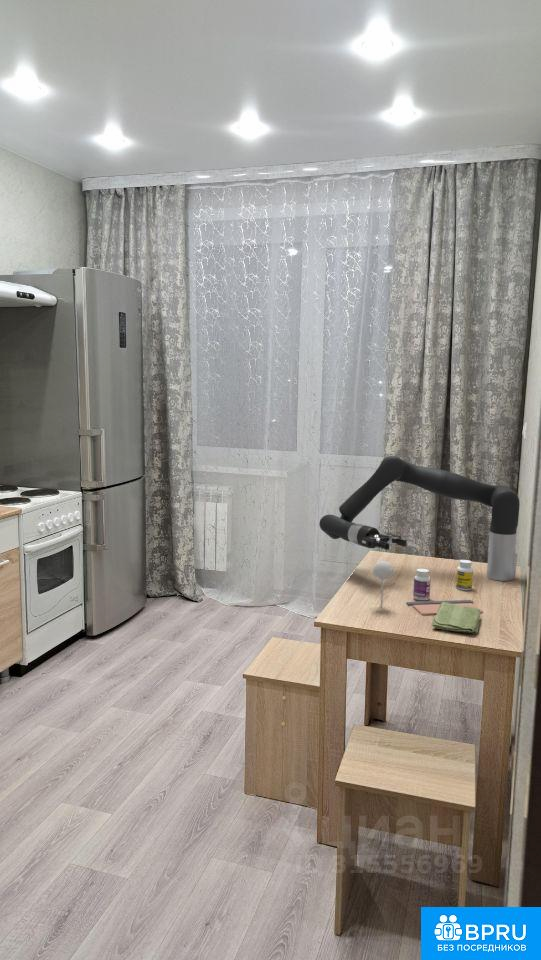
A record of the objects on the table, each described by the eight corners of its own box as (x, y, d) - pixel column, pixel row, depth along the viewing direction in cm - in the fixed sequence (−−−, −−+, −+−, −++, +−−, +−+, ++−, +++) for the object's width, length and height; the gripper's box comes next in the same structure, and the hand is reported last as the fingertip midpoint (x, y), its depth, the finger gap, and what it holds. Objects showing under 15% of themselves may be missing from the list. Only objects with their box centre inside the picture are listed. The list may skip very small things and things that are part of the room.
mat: (470, 601, 225) (470, 599, 225) (485, 613, 214) (486, 611, 214) (406, 603, 222) (406, 602, 221) (418, 615, 211) (418, 613, 211)
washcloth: (430, 629, 199) (431, 619, 198) (439, 609, 215) (440, 599, 214) (477, 637, 194) (478, 626, 193) (482, 616, 210) (483, 606, 209)
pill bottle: (429, 601, 224) (431, 573, 223) (413, 600, 225) (414, 571, 224) (429, 596, 230) (430, 568, 228) (413, 595, 231) (414, 567, 229)
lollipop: (392, 605, 220) (394, 559, 218) (389, 611, 214) (391, 564, 212) (373, 602, 222) (375, 557, 220) (370, 608, 216) (371, 562, 214)
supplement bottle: (454, 589, 238) (456, 562, 236) (456, 585, 243) (458, 558, 241) (471, 591, 236) (472, 563, 234) (472, 587, 241) (474, 560, 239)
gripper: (349, 527, 242) (383, 536, 229) (377, 523, 250) (412, 532, 238) (348, 548, 243) (382, 558, 230) (376, 543, 251) (410, 553, 239)
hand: (397, 545), depth 234 cm, fingers open, 8 cm apart
